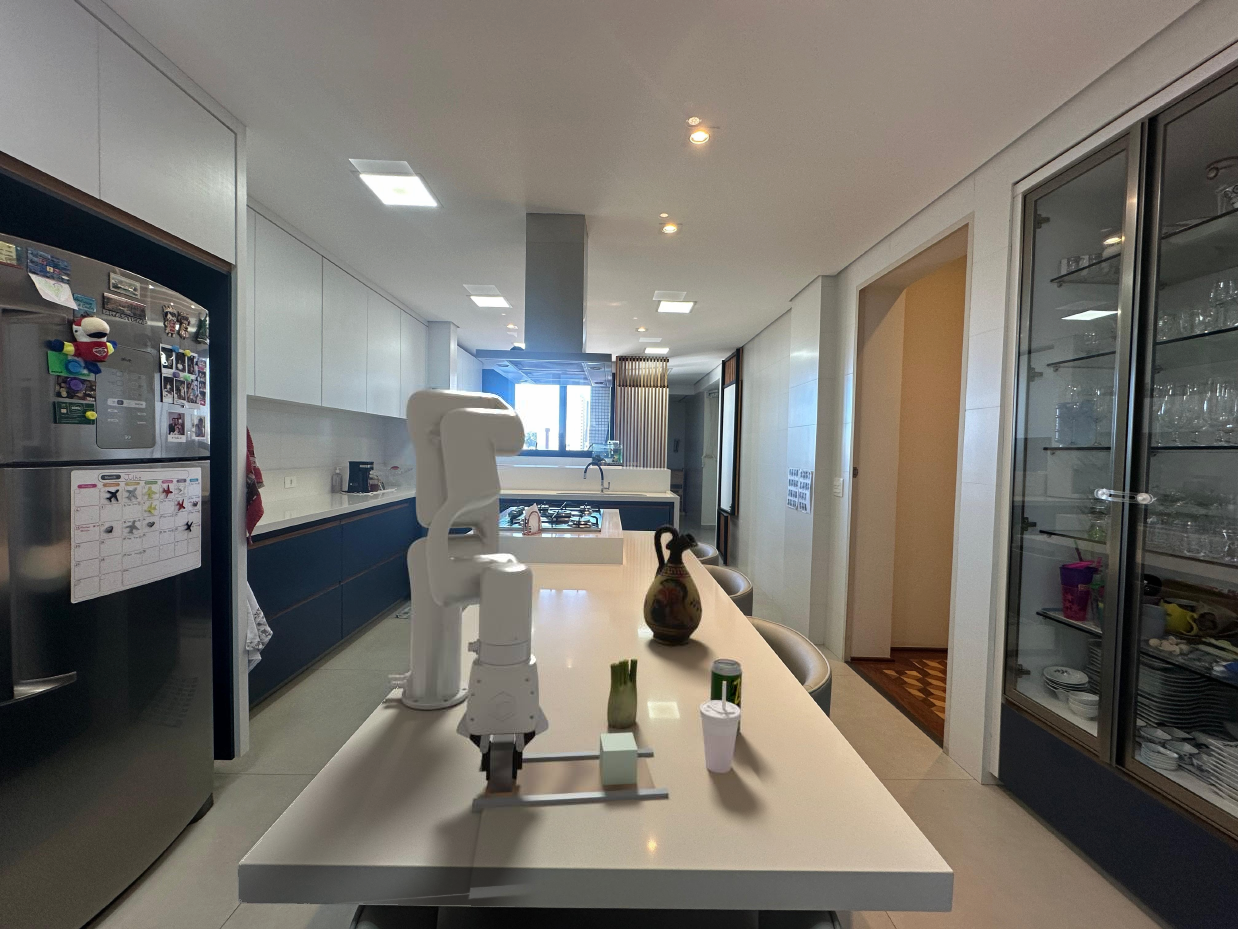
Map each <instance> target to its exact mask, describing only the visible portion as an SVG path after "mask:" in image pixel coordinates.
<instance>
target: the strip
mask: <svg viewBox="0 0 1238 929" xmlns="http://www.w3.org/2000/svg"><path fill="white" fill-rule="evenodd" d="M491 742H492V745H491V752H490V781H487V785H486V792H485V797H484V798H492V797H511V796H529V795H548V794H566V793H584V792H603V791H621V790H640V789H657V788H656V786H655V783H654V780H653V776H652V773H651V770H650V768H649V765H648V762H647V759H646V756H637V783H636V784H617V785H603V784H602V779H601V773H600V767H599V758H593V759H571V760H549V761H528V762H522V770H518V771H517V779H513V778H512V761H513V745H514V743H515V734H501V735H493V736H492V740H491Z"/></svg>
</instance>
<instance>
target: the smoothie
mask: <svg viewBox="0 0 1238 929" xmlns="http://www.w3.org/2000/svg"><path fill="white" fill-rule="evenodd" d="M698 712H699V714H698V715H699V716H700V717H701V724H702V735H703V736H702V738H703V746H704V758H705V759H704V760H705V767H706V769H708V770H709V771H710V772H713V773H717V774H725V773H726V774H727V773H728V772H730V771H731V769H732V763H733V759H734V758H733V757H734V750H735V747H736V746H735V744H736V739H737V738H736V737H737V735H738V734H737V728H738V721H740V722H741V720H742V709H741V710H740V708H739V707H738V706H736V705H735V704H732V703H730V702H727V701H726V681H723V687H722V701H721V700H711V701H710V700H707V701H704V702H702V703H701V704H700V705H699V711H698ZM740 719H741V720H740ZM736 734H737V735H736Z"/></svg>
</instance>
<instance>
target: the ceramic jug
mask: <svg viewBox="0 0 1238 929" xmlns="http://www.w3.org/2000/svg"><path fill="white" fill-rule="evenodd" d="M664 534H670V535H671V539H670V540H669V541H667V543H666V544H665V550H667V551H669V555H668V558H667V559H666V560H665V554H664V550H663V545H662V544H663V543H662V541H661V539H662V536H663V535H664ZM653 546H654V550H655V554H656V559H657V561H658V562H657V563H658V567H657V568H656V572H655V575H654V578H653V581H652V582H651V584H650V585H649V588H648V589H647V593H646V594H645V598H644V602H643V610H642V611H643V612H642V613H643V619H644V622H645V624H646V626H647V627H648V628H649V630H650V631H651V632H652V639H653V640H654V641H656V642H657V643H659V644H662V645H666V646H670V647H674V646H684V645H688V644H689V639H690V638H691V636H692V635H693V633H694V632H696V630H697V629H698V628H699V626H700V623H701V621H702V616H703V615H702V614H703V606H702V601H701V597H700V593H699V590H698V588H697V585H696V583H695V581H694V579H693V577H692V575H691V573H690V572H689V570H688V569H687V567H686V565H685V562H684V560H683V553H684V552H685V551H688V550H690V549H694V548H697V547H699V543H698V541H697V540H696V538H695V537H694V535H692V534H691V533H690V532H689V533H686V534H685V533H684V532H682V533H681V534H680V533H679V531H678V529H677V528H676V527H674V526H672V525H670V524H663V525H660V526H659V527H657V529H656V530H655V532H654V535H653Z"/></svg>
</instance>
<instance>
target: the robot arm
mask: <svg viewBox="0 0 1238 929" xmlns="http://www.w3.org/2000/svg"><path fill="white" fill-rule="evenodd" d="M405 410H406V411H405V416H406V417H405V419H406V426H407V431H408V433H409V437H410V440H411V443H412V447H413V449H414V453H415V464H416V465H415V466H416V468H415V512H416V518H417V521H418V523H419V524H420V525H421V526H422V527H424V528H426V529H427V528H428V533H427V536H425V537H421V538H419V539H417V540H415V541H414V542H413V543H412V544H410V546H409V548H408V551H407V555H406V556H407V559H406V561H407V568H408V577H409V582H410V595H411V596H410V597H411V602H410V603H411V606H410V607H411V612H410V613H411V614H410V615H411V616H410V617H411V620H410V626H411V627H410V666H409V667H410V671H409V672H405V674H400V675H399V674H388V677H387V680H386V682H387V683H386V685H387V686H390V690H400V689H403V690H402V691H401V696H400V697H401V698H400V699H401V702H402V703H403V704H404V706H406V707H409V708H412V709H416V710H425V711H426V710H427V711H428V710H439V709H444V708H449V707H452V706H454V705H457V704H459V703H461V702H462V701H464V700H466V709H465V712H464V713H463V715H462V717H461V719H460V720H459V722H458V724H457V727H456V734H458V735H460V736H463V737H465V738H466V739H469V740H470V741H471V742H472V744H474V745H475V746H476V747H477V748H478V749H479V752H480V753H481V757H482V767H481V772H485V781H486V782H488V781H490V752H491V745H492V740H491V736H492V735H501V734H514V745H513V761H512V778H513V779H517V771H518V770H522V762H523V754H524V753H523V752H524V750H525V747H527V746H528V744H530V743H531V742H532V741H533V739H535V738H536V736H539V735H540V734H543V733H544V732H546V731H547V730H549V725H550V724H549V720H548V719H547V717H546V715H545V713H544V711H543V709H542V708H541V706H540V688H539V685H540V684H539V683H540V682H539V673H538V672H539V671H538V664H537V659H536V656H535V655H534V654H532V631H533V629H532V628H533V627H532V625H533V624H532V622H533V590H534V589H533V585H534V584H533V583H534V578H533V571H532V569H531V568H530V567H529V566H528V565H526V564H523V563H521V562H520V561H519V559H518V558H517V557H516V556H515V555H513V554H512V553H511V554H510V553H502V552H501V553H500V500H499V496H500V495H501V490H502V487H501V482H500V477H499V476H500V475H499V471H498V464H497V459H496V457H498V458H505V457H506V458H511V457H512V458H513V457H516V456H519V454H520V453H521V452H523V448H524V446H525V441H526V435H525V434H526V432H525V427H524V424H523V421H522V420H521V418H520V415H519V414H518V412H516V410H515V409H514V408H513V407H512V406H511V405H509V404H508V403H507V402H506V401H505V400H503V399H502V398H501V397H500V396H498V395H496V394H492V393H486V392H475V391H463V390H456V389H455V390H453V389H442V388H437V389H436V388H433V389H432V388H431V389H430V388H429V389H428V388H427V389H421V390H417V391H415V392H412V394H411V395H410V396H409V397H408V400H407V404H406V409H405ZM455 528H456V529H458V528H459V529H460V528H471V530H472V533H461V534H449V531H450V529H455ZM475 605H477V606H478V607H479V610H478V611H479V612H478V638H477V639H476V640H474V641H469V642H468V644H467V652H469V653H470V652H471V653H472V652H473V654H475V655H476V657H475V658H474V659H473V661H472V663H471V667H470V671H469V672H470V673H469V678H468V684H467V682H465V681H464V680H462V675H461V674H462V646H463V644H462V640H463V638H462V636H463V607H468V606H469V607H470V606H475ZM397 687H398V688H397ZM396 688H397V689H396ZM466 698H467V699H466Z"/></svg>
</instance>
